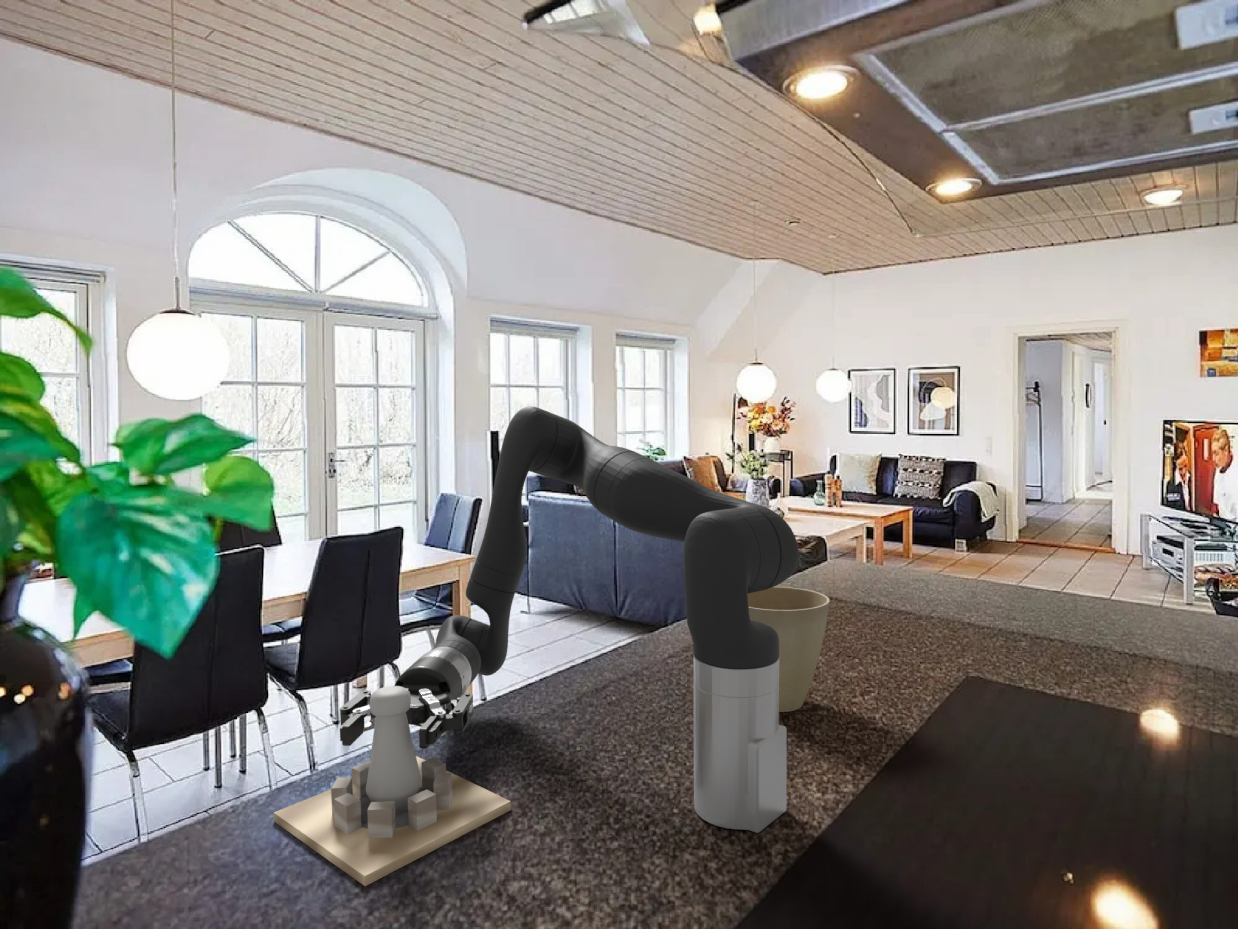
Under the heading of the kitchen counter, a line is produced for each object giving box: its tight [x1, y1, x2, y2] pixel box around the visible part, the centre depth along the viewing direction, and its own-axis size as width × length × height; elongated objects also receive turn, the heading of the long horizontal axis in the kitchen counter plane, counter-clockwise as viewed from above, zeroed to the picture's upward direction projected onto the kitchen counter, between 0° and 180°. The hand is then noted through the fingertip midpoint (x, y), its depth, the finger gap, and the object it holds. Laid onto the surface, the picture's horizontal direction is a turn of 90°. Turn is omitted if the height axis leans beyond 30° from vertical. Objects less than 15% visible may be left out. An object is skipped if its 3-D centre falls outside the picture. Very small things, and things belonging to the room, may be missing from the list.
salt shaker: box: [366, 685, 421, 814], centre depth 86 cm, size 6×6×13 cm
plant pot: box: [748, 586, 831, 713], centre depth 117 cm, size 15×15×16 cm
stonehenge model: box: [273, 755, 512, 887], centre depth 87 cm, size 18×18×4 cm
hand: (383, 738), depth 84 cm, fingers open, 8 cm apart
